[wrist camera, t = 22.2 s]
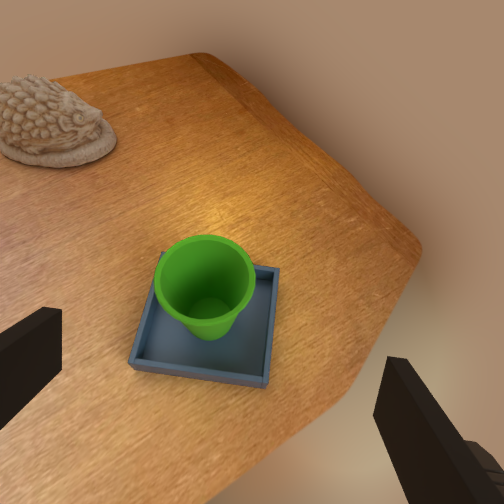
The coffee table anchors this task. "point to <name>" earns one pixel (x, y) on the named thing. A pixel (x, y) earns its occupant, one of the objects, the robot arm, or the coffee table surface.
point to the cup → (205, 284)
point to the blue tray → (211, 352)
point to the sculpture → (50, 125)
